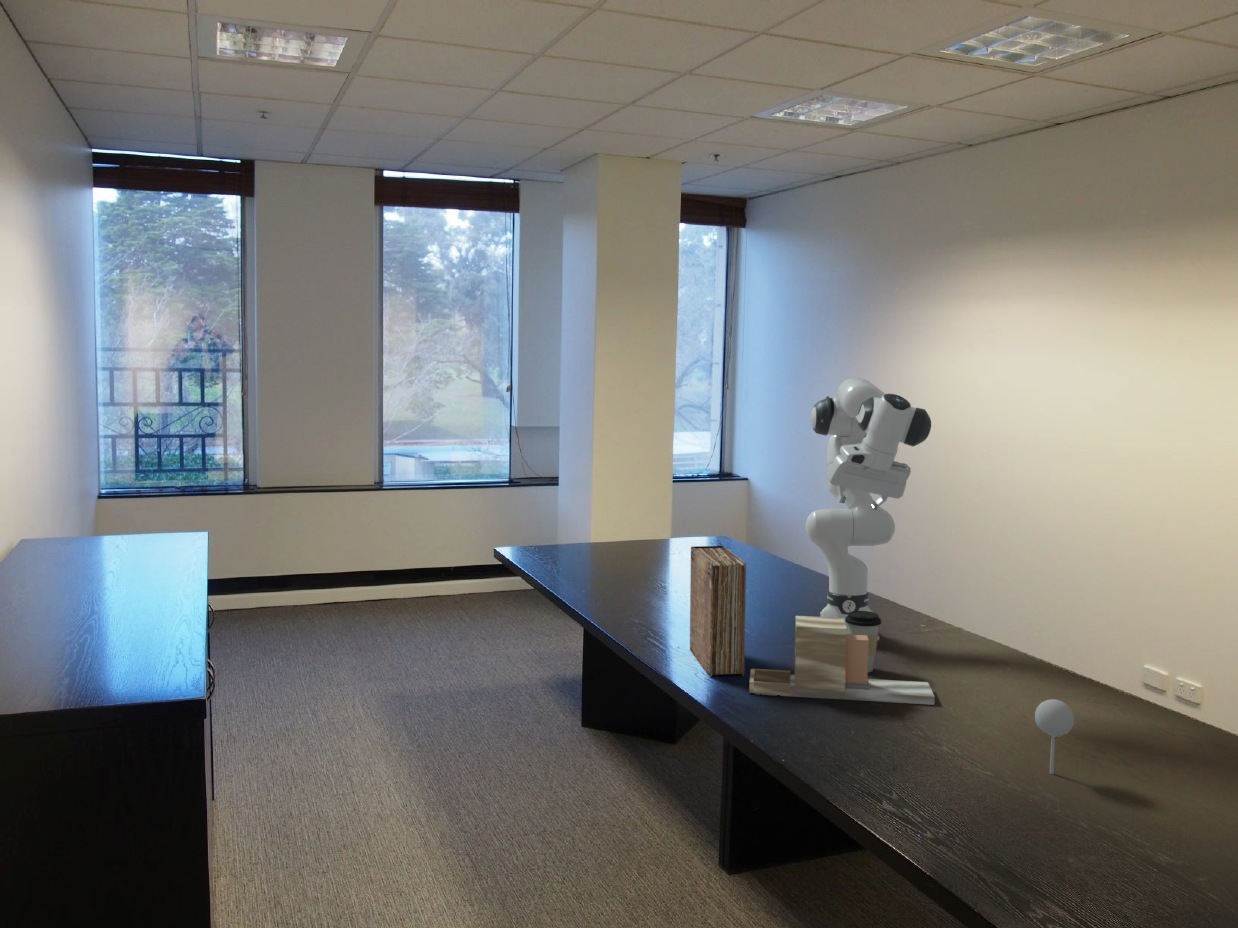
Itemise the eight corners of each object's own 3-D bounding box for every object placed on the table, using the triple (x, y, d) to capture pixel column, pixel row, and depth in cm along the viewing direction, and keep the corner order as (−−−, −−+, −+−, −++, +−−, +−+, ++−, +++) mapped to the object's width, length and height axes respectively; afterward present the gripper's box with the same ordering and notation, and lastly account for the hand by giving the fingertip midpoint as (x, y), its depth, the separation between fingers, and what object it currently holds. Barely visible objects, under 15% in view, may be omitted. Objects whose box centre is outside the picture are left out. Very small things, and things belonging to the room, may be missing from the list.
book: (744, 676, 257) (746, 563, 254) (709, 677, 256) (711, 563, 253) (721, 648, 282) (722, 545, 279) (689, 649, 281) (690, 546, 278)
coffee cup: (854, 675, 258) (856, 619, 256) (837, 665, 267) (838, 611, 265) (886, 673, 260) (888, 617, 259) (868, 662, 269) (870, 608, 268)
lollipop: (1060, 765, 200) (1064, 694, 199) (1077, 780, 193) (1081, 706, 192) (1026, 766, 200) (1029, 694, 199) (1042, 780, 193) (1045, 706, 192)
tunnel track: (750, 679, 254) (752, 613, 252) (927, 689, 247) (930, 621, 245) (749, 693, 243) (750, 624, 242) (934, 704, 236) (937, 633, 234)
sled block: (818, 678, 249) (819, 632, 247) (867, 681, 247) (868, 634, 246) (819, 686, 243) (820, 638, 242) (869, 689, 241) (870, 641, 240)
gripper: (908, 460, 255) (889, 508, 260) (835, 444, 251) (817, 493, 256) (917, 470, 249) (898, 518, 254) (843, 453, 245) (824, 503, 250)
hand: (857, 505), depth 255 cm, fingers open, 8 cm apart
